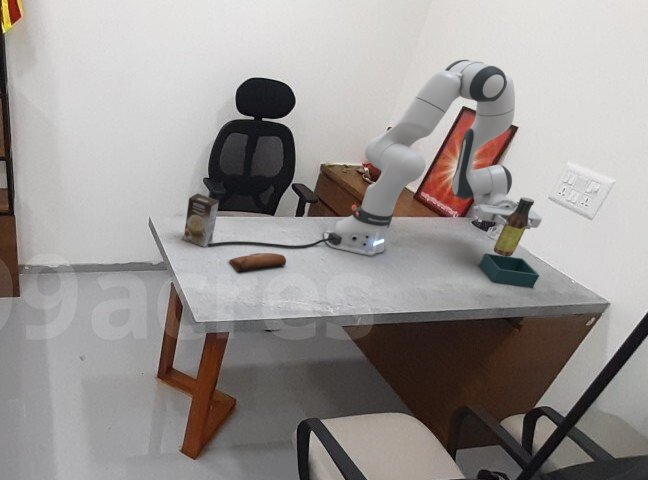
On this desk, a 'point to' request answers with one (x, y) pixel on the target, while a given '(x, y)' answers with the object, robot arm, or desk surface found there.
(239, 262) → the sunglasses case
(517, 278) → the teal open box
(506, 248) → the sauce bottle
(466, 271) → the desk surface
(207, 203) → the coffee box
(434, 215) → the desk surface
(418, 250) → the desk surface
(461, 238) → the desk surface
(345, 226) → the robot arm
